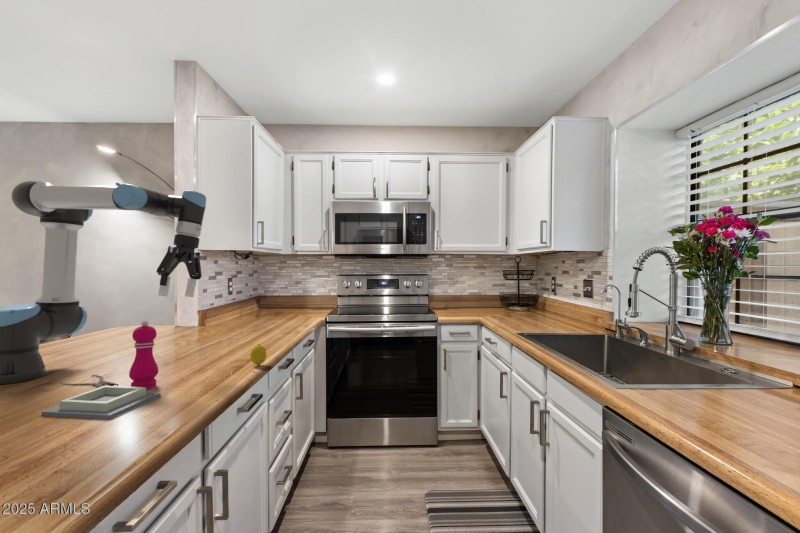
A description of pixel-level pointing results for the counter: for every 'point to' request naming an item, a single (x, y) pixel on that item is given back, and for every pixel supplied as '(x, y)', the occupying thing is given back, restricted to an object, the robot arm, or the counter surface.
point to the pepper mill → (144, 357)
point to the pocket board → (102, 402)
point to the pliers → (100, 384)
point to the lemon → (258, 354)
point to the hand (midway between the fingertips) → (176, 296)
